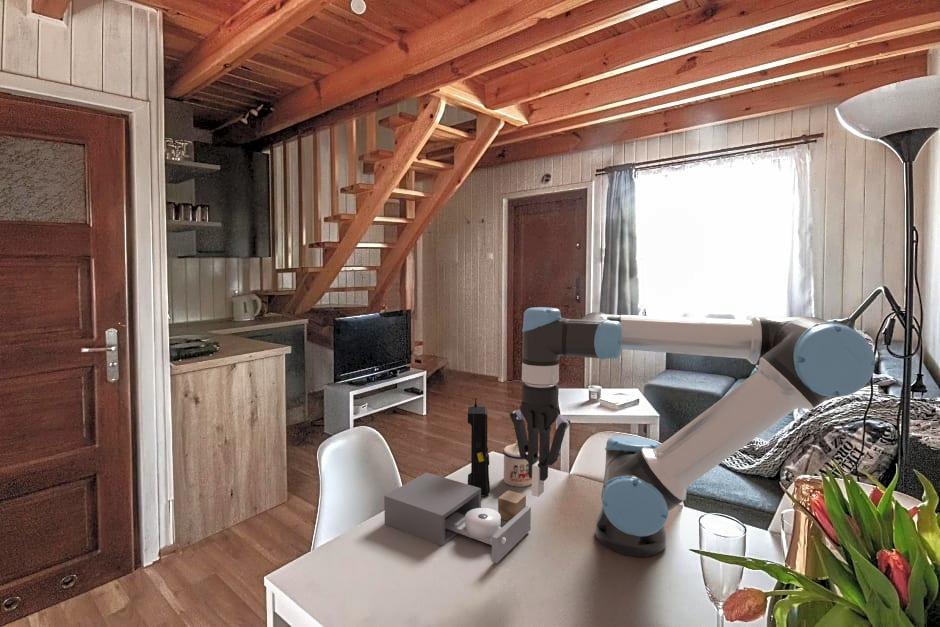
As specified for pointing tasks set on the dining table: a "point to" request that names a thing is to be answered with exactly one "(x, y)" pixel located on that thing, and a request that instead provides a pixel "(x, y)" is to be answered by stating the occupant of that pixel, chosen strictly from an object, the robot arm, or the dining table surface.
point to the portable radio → (479, 449)
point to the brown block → (510, 504)
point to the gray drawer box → (429, 506)
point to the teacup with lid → (515, 467)
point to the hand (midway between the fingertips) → (537, 493)
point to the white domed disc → (482, 522)
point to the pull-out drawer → (501, 539)
